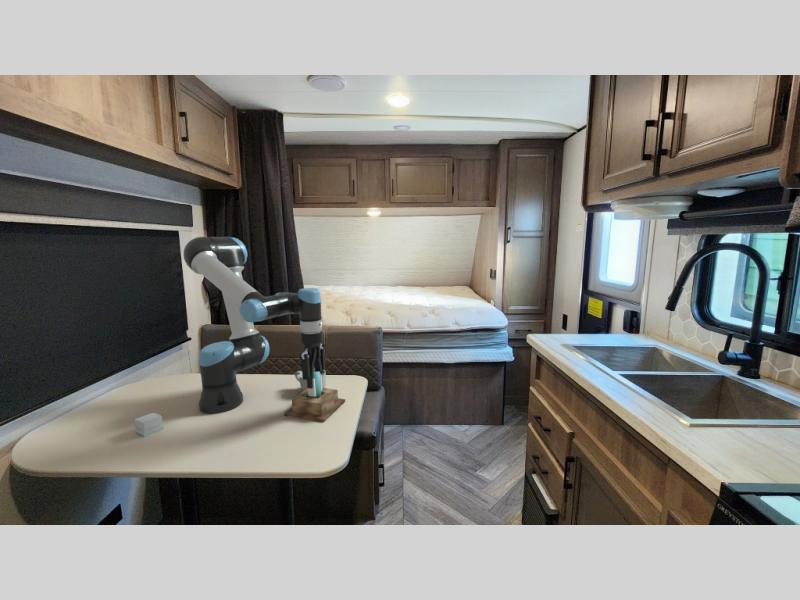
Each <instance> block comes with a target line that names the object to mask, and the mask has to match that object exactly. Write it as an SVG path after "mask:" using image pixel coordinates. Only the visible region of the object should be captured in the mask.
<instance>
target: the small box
mask: <svg viewBox="0 0 800 600" xmlns="http://www.w3.org/2000/svg"><path fill="white" fill-rule="evenodd" d="M163 424H164V423H163V416H162V415H160V414H158V413H156V412H151V413H148V414H147V413H146V414H145V415H143V416H140V417H137V418H135V419H134V425H135V431H136V434H138V435H141V436H142V437H145V438H147V437H148V436H151V435H153V434H155V433H158V432H160V431H162V430H164V425H163Z"/></svg>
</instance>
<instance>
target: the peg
mask: <svg viewBox="0 0 800 600" xmlns="http://www.w3.org/2000/svg"><path fill="white" fill-rule="evenodd" d="M313 379H315V389H316V396H315V397H314V396H310V398H319V397H320V396H321V381H320V372H319V371H314V375H313Z"/></svg>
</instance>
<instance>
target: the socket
mask: <svg viewBox="0 0 800 600" xmlns="http://www.w3.org/2000/svg"><path fill="white" fill-rule="evenodd" d="M338 393H339V391H338V389H335V388H325V387H324V388H322V391H321V396H320V397H319V398H310V396H308V388H307V389H306V390H304V391H303V390H302V391H301V392H300V393H299V394H298V395H296V396H294V397H293V398H292V399H291V407H290V408H289V409H288V410H286V411H285V412H284V414H283V415H284V416H285V417H289V418H296V419H303V420H310V421H316V422H321V423H325V422H326V421H327V420H328V419H329V418H330V417H331V416H332V415H333V414H334V413H335V412H337V411H338V409H339V408H341V406H342V405H343V404H344V403H345V402H346V398H345V399H344V398H339V394H338Z"/></svg>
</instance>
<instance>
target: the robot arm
mask: <svg viewBox="0 0 800 600" xmlns="http://www.w3.org/2000/svg"><path fill="white" fill-rule="evenodd" d="M182 255H183V259H184V262H185V264H186V266H187V267H188V268H189V269H190V270H191V271H192V272H194V273H195V274H197V275H202V276H204V278H205V279H207V280H208V281H209V282H210V283H211V284H213V285H214V286H215V287H216V288H218V290H219V291H221V293H222V297H223V302H224V306H225V310H226V314H227V319H228V322H229V327H230V330H231V335H230V336H229V338H228V339H229V340H224V341H219V342H217V341H216V342H213V343H211V344H210V343H209V344H208V345H206V346H204V347H203V348H201V350H199V353H198V364H199V370H200V379H201V392H200V393H201V394H200V399H199V401H198V409H199V411H200V412H201V413H204V414H219V413H224V412H227V411H230V410H231V411H232V410H233V409H235V408H237V407H239V406H241V405H242V403H243V402H244V395H243V392H242V391H241V388H240V386H239V384H238V380H237V373H239V372H242V371H245V370H247V369H250V368H252V367H257V366H258V365H260V364H262V363H264V362H265V361H267V358H268V357H269V354H270V344H269V341H268V340H267V339H266V337H265V336H263V335H261V333H260V331H259V330H257V329H256V328H255V325H254V323H255V322H257V323H258V322H262V321H266V320H269V319H274V318H277V317H282V316H285V315H291V314H292V315H299V322H300V324H299V327H300V332H301V333H300V340H301V343H302V344H303V346H304V349H303V352H302V353H301V352H300V353H299V358H300V364H301V365H300V366H301V372H302V376H303V379H304V380H307V387H308V396H314V397H315V396H316V389H315V379H313V375H314V368H315V371H319V372H320V381H321V391H322V373H323V374H324V371H323V370H325V369H326V357H325V350H326V349H325V347H326V345H325V343H322V342H323V340H324V335H323V334H324V333H323V319H322V318H323V316H322V298H321V291H320V289H319V288H317V287H305V288H300V289H298V293H295V292H286V291H283V292H277V293H275V294H273V295H269V296H268V295H267V296H264V295H263V294H261V293H260V292H259V291H257V290H256V289H255V288H254V287H252V285H250V284H249V283H247V281H245V280H244V279H243V274H242V271H243V270H245V265H244V264H245V263H246V262H247V260H248V259H247V258H248V250H247V248H246V245H245V244H244V243H243V241H242V240H239V238H236V237H231V236H197V237H195V238H192V239H191V240H189V241H188V242H187V243H186V244H185V246H184V248H183V254H182ZM325 371H326V370H325Z"/></svg>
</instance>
